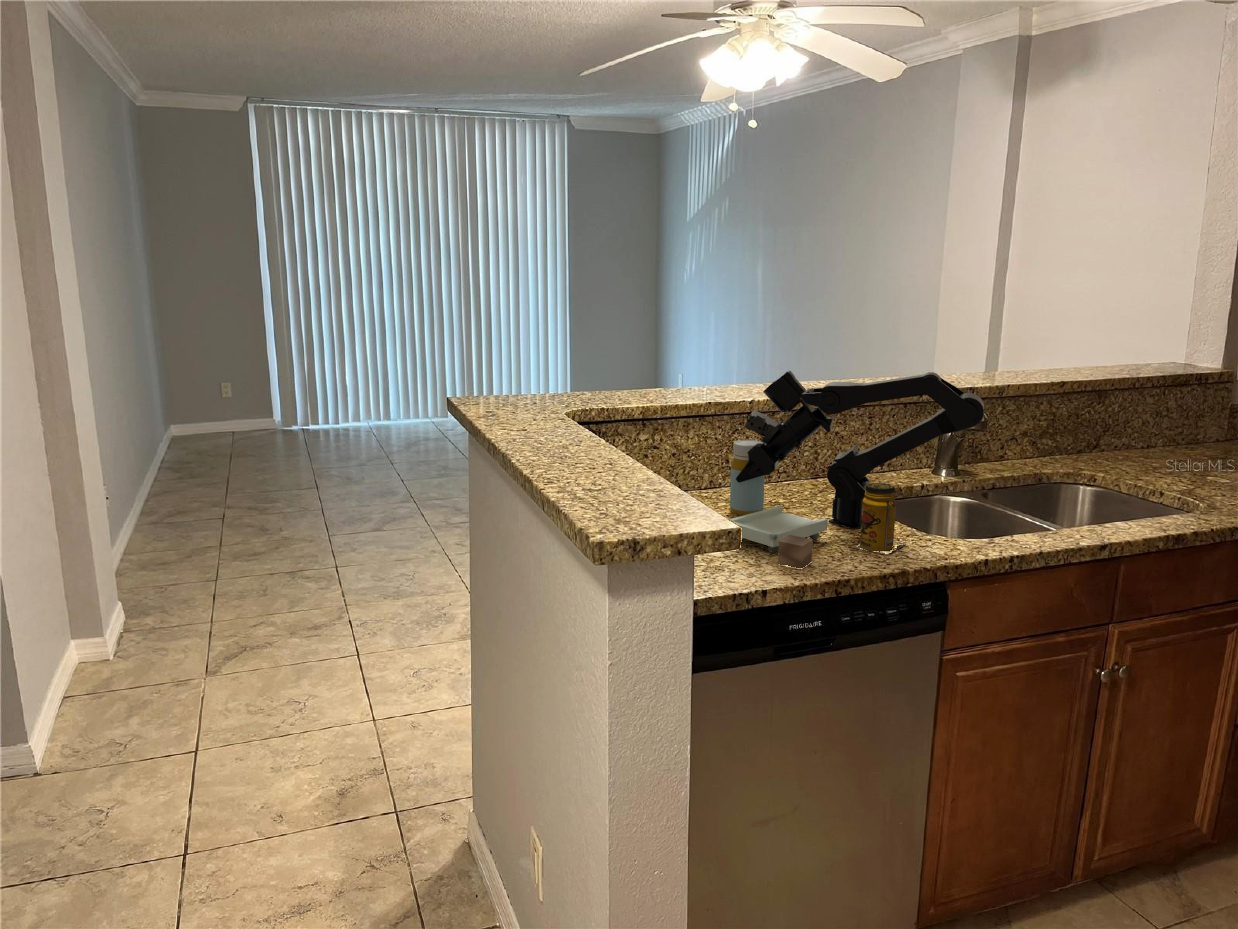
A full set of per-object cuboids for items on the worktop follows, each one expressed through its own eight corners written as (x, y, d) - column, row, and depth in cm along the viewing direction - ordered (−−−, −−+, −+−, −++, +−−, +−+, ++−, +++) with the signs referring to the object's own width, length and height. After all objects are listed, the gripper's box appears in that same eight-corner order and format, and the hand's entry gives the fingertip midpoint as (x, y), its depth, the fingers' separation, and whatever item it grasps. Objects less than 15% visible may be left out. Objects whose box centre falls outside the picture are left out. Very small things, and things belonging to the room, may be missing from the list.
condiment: (850, 548, 173) (854, 485, 170) (870, 537, 179) (875, 477, 176) (887, 556, 168) (892, 492, 165) (906, 545, 174) (911, 483, 172)
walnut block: (811, 563, 164) (813, 539, 163) (801, 570, 161) (802, 545, 160) (788, 558, 167) (789, 534, 166) (777, 565, 163) (778, 541, 162)
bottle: (762, 518, 191) (764, 447, 187) (728, 516, 192) (730, 445, 189) (764, 508, 198) (766, 440, 194) (731, 506, 199) (733, 438, 195)
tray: (826, 539, 178) (827, 519, 177) (772, 556, 167) (773, 535, 166) (777, 525, 186) (778, 505, 185) (723, 540, 176) (724, 520, 175)
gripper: (779, 392, 196) (726, 439, 203) (760, 406, 179) (703, 457, 186) (814, 432, 195) (760, 477, 202) (798, 449, 179) (740, 499, 185)
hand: (741, 476), depth 194 cm, fingers closed on bottle, 7 cm apart
